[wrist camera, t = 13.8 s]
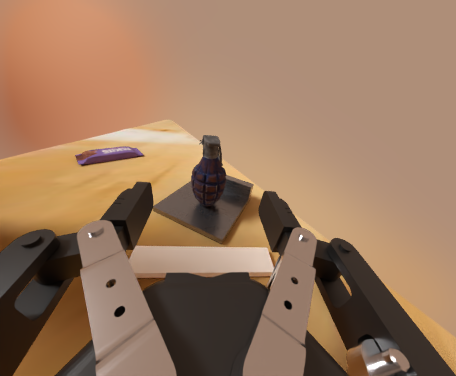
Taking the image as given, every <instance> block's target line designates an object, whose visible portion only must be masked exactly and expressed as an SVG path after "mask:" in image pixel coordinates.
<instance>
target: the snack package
mask: <svg viewBox="0 0 456 376" xmlns="http://www.w3.org/2000/svg"><path fill="white" fill-rule="evenodd" d="M141 155H143V154H142V153H141V152H140V151H139V150H138V149H136V148H131V147H115V148H106V149H96V150H89V151H85V152H83V153H82V154H79V155H75V156H76V158H77V162H78V164H94V163H100V162H106V161H113V160H120V159H126V158H133V157H138V156H141Z"/></svg>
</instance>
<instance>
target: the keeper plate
mask: <svg viewBox="0 0 456 376" xmlns="http://www.w3.org/2000/svg"><path fill="white" fill-rule="evenodd" d="M194 168H195V167H194ZM225 177H226V184H225V188H224V191H223V194H222V195H221V198H220V199H219V200H218V201H217V202H216V203H215V204H213V205H211V206H203V205H202V204H201V203H199V201H198V200H197V199H196V198H195V196H194V193H193V191H192V183H191V181H190V182H189V183H187V184H186V185H184V186H183V187H181V188H180V189H178V190H177V191H175V192H174V193H172V194H171V195H169V196H168V197H166V198H165V199H164V200H162V201H161V202H159V203H158V204H156V205H155V206H153V211H155V212H157V213H159V214H161V215H163V216H165V217H167V218H169V219H171V220H173V221H175V222H177V223H179V224H181V225H183V226H185V227H187V228H189V229H192V230H194V231H196V232H198V233H200V234H202V235H204V236H206V237H208V238H210V239H212V240H214V241H216V242H218V243H220V244H222V243H223V241H224V240H225V238H226V236H227V235H228V233H229V232H230V230H231V228H232V227H233V225H234V224H235V222H236V221H237V219H238V217H239V216H240V214H241V213H242V211H243V209H244V208H245V206H246V205H247V203H248V202H249V200H250V197H251V193H252V189H253V185H254V184H251V183H248V182H245V181H242V180H239V179H236V178H233V177H230V176H228V175H226V176H225Z"/></svg>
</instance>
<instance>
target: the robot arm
mask: <svg viewBox="0 0 456 376" xmlns="http://www.w3.org/2000/svg"><path fill="white" fill-rule="evenodd" d="M152 209H153V194H152V187H151V183H149V182H137V183H136V184H135V185H134V187H133V188H132V189H127V190H125V191H123V192H122V193H121V194H120V195H119V196H118V197H117V199H116V200H115V201H114V202H113V204H112V205H111V206H110V208H109V209H108V210H107V211H106V213H105V214H104V215H103V216H102V218H101V219H100V220H98V221H94V222H91V223H89V224H87V225H85V226H84V227H82V228H81V229H80V230H79V232H77V233H72V234H67V235H62V236H56V235H55V233H54V232H53V231H51V230H47V229H43V230H36V231H33V232H29V233H27V234H25V235H22V236H21V237H19V238H17V239H16V240H14V241H13V242H12V243H11V244H9V245H8V246H7V247H6V248H5V249H4V250H3V251H1V252H0V376H13V374H14V372H15V371H16V369H17V368H18V366H19V365H20V363H21V361H22V360H23V358H24V357H25V355H26V353H27V352H28V350H29V349H30V347H31V345H32V344H33V342H34V341H35V339H36V337H37V336H38V334H39V333H40V331H41V329H42V328H43V326H44V325H45V323H46V321H47V320H48V318H49V317H50V315H51V313H52V312H53V310H54V309H55V307H56V306H57V304H58V302H59V301H60V299H61V298H62V296H63V294H64V293H65V291H66V290H67V288H68V286H69V285H70V283H71V282H72V280H73V278H74V277H78V276H81V279H82V285H83V290H84V295H85V301H86V306H87V312H88V317H89V323H90V328H91V333H92V340H91V341H90V342H89V343H88V344H87V345H86V346H85V347H84V348H83V349H82V350H80V351H79V352H78V353H77V354H76V355H75V356H74V357H73V358H72V359H71V360H70V361H69V362H68V363H67V364H66V365H65V366H64V367H63V368H62V369H61V370H60V371H59V372H58V373H57V374H56V375H55V376H456V375H455V374H454V372H453V371H452V370H451V369H450V367H449V366H448V365H447V364H446V362H445V361H444V360H443V359H442V357H441V356H440V355H439V353H438V352H437V351H436V350H435V348H434V347H433V346H432V345H431V343H430V342H429V341H428V340H427V338H426V337H425V336H424V335H423V333H422V332H421V331H420V329H419V328H418V327H417V326H416V324H415V323H414V322H413V321H412V319H411V318H410V317H409V316H408V314H407V313H406V312H405V311H404V309H403V308H402V307H401V305H400V304H399V303H398V302H397V300H396V299H395V298H394V297H393V295H392V294H391V293H390V292H389V290H388V289H387V288H386V287H385V285H384V284H383V283H382V281H381V280H380V279H379V278H378V276H377V275H376V274H375V273H374V271H373V270H372V269H371V268H370V266H369V265H368V264H367V263H366V261H365V260H364V259H363V257H362V256H361V255H360V254H359V252H358V251H357V250H356V249H355V248H354V247H353V246H352V245H351V244H350V243H348V242H346V241H345V240H343V239H339V238H334V239H332V240H331V242H330V243H327V242H324V241H320V240H317V239H316V237H315V236H314V235H313V234H312V233H311V232H310V231H308V230H307V229H304V228H302V227H301V226H300V224H299V223H298V221H297V219H296V218H295V216H294V214H292V211H291V210H290V208H289V206H288V204H287V203H286V202H285V201H283V200H282V199H279V197H278V195H277V194H276V192H272V191H265V192H264V193H263V196H262V199H261V202H260V206H259V216H260V219H261V222H262V225H263V228H264V230H265V233H266V236H267V239H268V242H269V245H270V248H271V250H272V252H279V255H280V256H279V258H278V260H277V262H276V265H275V267H274V270H273V272H272V274H271V277H270V279H269V282H268V284H267V286H266V287H265V286H264V285H262V284H261V283H259V282H257V281H255V280H252V279H250V277H249V272H229V273H225V274H222V275H218V276H215V277H211V278H207V277H203V276H199V275H195V274H191V273H166V277H165V280H161V281H159V282H156V283H154V284H152V285H150V286H149V287H147V288H146V289H144V290H143V291H142V290H141V288H140V285H139V283H138V281H137V278H136V276H135V274H134V271H133V269H132V267H131V264H130V262H129V260H128V257H127V255H126V253H125V252H126V250H134V248H135V246H136V244H137V242H138V240H139V237H140V235H141V233H142V231H143V229H144V226H145V224H146V222H147V220H148V218H149V216H150V213H151V211H152ZM341 275H342V276H343V277H344V279H345V281H346V282H347V284H348V285H349V287H350V289H351V293H352V296H350V294H349V292H348V291H347V289H346V287H345V286H344V284H343V282H342V281H341V279H340V276H341ZM32 278H33V279H32ZM31 279H32V280H31ZM30 280H31V282H30ZM314 280H315V282H316V284H317V286H318V288H319V290H320V293H321V295H322V297H323V299H324V301H325V303H326V306H327V308H328V310H329V312H330V314H331V316H332V319H333V321H334V323H335V325H336V327H337V329H338V332H339V334H340V336H341V338H342V340H343V343H344V345H345V347H346V349H347V356H346V358H347V364H348V367H347V373H348V374H347V373H346V372H345V371H344V370H343V368H342V367H341V366H340V365H339V364H338V363H337V362H336V361H335V360H334V359H333V358H332V357H331V356H330V354H329V353H328V352H327V351H326V350H325V349H324V348H323V347H322V346H321V345H320V344H319V343H318V342H317V341H316V339H315V338H314V337H313V336H312V335H311V334H310V333H309V332H308V331H307V323H308V317H309V311H310V304H311V298H312V292H313V286H314ZM29 282H30V283H29ZM28 283H29V284H28ZM27 284H28V285H27ZM26 285H27V286H26ZM25 286H26V288H25ZM24 288H25V289H24ZM23 289H24V290H23ZM22 290H23V291H22ZM21 291H22V292H21ZM20 292H21V294H20ZM19 294H20V295H19ZM18 295H19V296H18ZM16 298H17V299H16Z"/></svg>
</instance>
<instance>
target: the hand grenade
mask: <svg viewBox="0 0 456 376" xmlns="http://www.w3.org/2000/svg"><path fill="white" fill-rule="evenodd" d="M200 141H201V140H200ZM201 143H202V145H203V157H202V159H201V161H200V162H199V164H198V165H196V166H195V168H194V169H193V171H192V176H191V183H192V191H193V193H194V196H195V198H196V199H197V200H198V201H199V203H201V204H202V205H203V206H211V205H213V204H215V203H216V202H217V201H218V200H219V199H220V198H221V195H222V194H223V191H224V188H225V184H226V177H225V176H226V172H225V169H224V168H223V167H222V165H223V164H222V153H221V147H220V140H219V138H218V137H217V136H208V135H204V136H203V139H202V142H201ZM201 143H200V144H201ZM218 147H219V149H218ZM219 153H220V156H219Z"/></svg>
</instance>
